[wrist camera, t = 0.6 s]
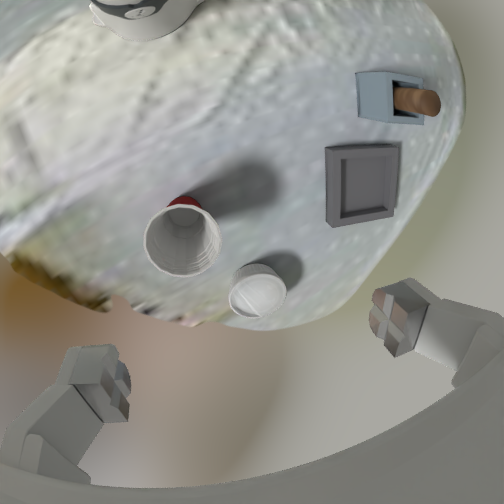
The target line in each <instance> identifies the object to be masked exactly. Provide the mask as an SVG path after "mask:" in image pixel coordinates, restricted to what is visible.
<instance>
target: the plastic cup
mask: <svg viewBox="0 0 504 504" xmlns="http://www.w3.org/2000/svg"><path fill="white" fill-rule="evenodd" d="M221 244H222V236H221V233H220V229H219V226H218V224H217V223H216V221H215V220H214V219H213V218H212V217H211V215H210V214H209V213H208V212H206V211H204V210H203V209H202V208H201V206H200V204H199V203H198V202H197V201H196V200H195V199H193V198H191V197H186V196H182V197H178V198H176V199H174V200H173V201H172V202H171V203H170V204H169V205H168V206H167V207H166V208H163V209H161V210H160V211H159V212H158V213H157V214H155V215H154V216H153V217H152V218H151V219H150V220H149V223H148V225H147V227H146V229H145V231H144V246H143V247H144V249H145V252H146V254H147V257H148V259H149V261H150V262H151V263H152V264H153V265H154V266H155V267H156V268H157V269H158V270H160V271H162V272H164V273H166V274H168V275H171V276H175V277H190V276H194V275H198V274H201V273H202V272H204V271H205V270H207V269H208V268H209V267H211V266H212V265H213V264H214V262H215V261H216V259H217V257H218V256H219V254H220V251H221Z"/></svg>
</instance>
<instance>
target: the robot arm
mask: <svg viewBox="0 0 504 504" xmlns="http://www.w3.org/2000/svg"><path fill="white" fill-rule="evenodd" d="M90 1H91V4H90V5H89V7H90V9H91V11H92V12H93V18H92V21H93V22H94V24H95V25H97V26H101V27H107V28H109V29H110V30H112V31H113V32H114V33H115V34H116V35H118V36H120V37H122V38H124V39H128V40H133V41H146V40H152V39H156V38H159V37H162V36H164V35H166V34H168V33H170V32H172V31H174V30H175V29H177V28H178V27H179V26H181V25H182V24H183V23H184V22H185V21H186V20H187V18H188V17H189V16H190V14H191V13H192V11H193V10H194V8H195V7H196V6H197V5H199V4H200V3H202V2H203V1H205V0H90ZM372 301H373V303H374V304H375V305H374V306H373V308H372V309H371V311H370V315H369V322H370V327H371V329H372V331H373V333H374V334H375V335H376V337H378V338H381V339H384V346H385V347H386V348H387V349H388V351H390V353H391V354H392V355H393V356H394V357H398V356H400V355H402V354H404V353H407V352H409V351H411V350H413V349H414V351H416V352H418V353H420V354H422V355H424V356H426V357H428V358H431V359H433V360H435V361H437V362H439V363H441V364H443V365H445V366H447V367H449V368H451V369H454V370H456V371H457V372H456V374H455V376H454V377H453V379H452V385H453V386H454V387H455V389H454V390H453V391H451V392H450V393H449V394H447V395H446V396H444V397H443V398H441V399H440V400H438V401H437V402H435V403H434V404H432V405H431V406H429V407H428V408H426V409H424V410H423V411H421V412H419V413H418V414H416V415H414V416H413V417H411V418H409V419H407V420H406V421H404V422H402V423H400V424H398V425H397V426H395V427H393V428H391V429H389V430H387V431H385V432H383V433H381V434H379V435H377V436H375V437H373V438H371V439H368V440H366V441H364V442H362V443H360V444H357V445H355V446H353V447H350V448H348V449H345V450H343V451H340V452H338V453H335V454H333V455H330V456H328V457H324V458H322V459H319V460H316V461H313V462H310V463H307V464H303V465H300V466H297V467H294V468H290V469H286V470H283V471H279V472H275V473H272V474H267V475H263V476H258V477H253V478H249V479H243V480H238V481H232V482H226V483H219V484H211V485H203V486H192V487H177V488H123V487H110V486H99V485H91V484H90V481H91V478H90V476H89V475H88V474H87V473H86V472H84V471H83V470H81V469H80V468H79V467H78V466H77V465H78V463H79V461H80V460H81V458H82V457H83V455H84V454H85V452H86V450H87V449H88V448H89V446H90V444H91V443H92V441H93V440H94V438H95V437H96V436H97V434H98V432H99V431H100V429H101V428H102V426H103V425H104V424H103V423H114V422H128V417H129V403H128V401H127V400H126V398H127V397H128V395H129V394H130V393H131V380H130V375H129V372H128V369H127V367H126V365H125V364H124V363H122V362H121V361H119V360H118V358H119V352H118V351H117V349H116V347H115V345H113V344H105V345H91V346H79V347H71V348H69V349H68V350H67V353H66V355H65V358H64V360H63V363H62V366H61V368H60V371H59V374H58V377H57V380H56V382H55V385H50V386H49V387H48V388H47V389H46V390H45V391H44V392H43V393H42V394H41V395H40V396H39V397H38V398H36V399H35V400H34V401H33V402H32V403H31V404H30V405H29V406H28V407H27V408H26V409H25V410H24V411H23V412H22V413H21V414H20V415H19V416H18V417H17V418H16V419H15V420H14V421H13V422H12V423H11V424H10V425H9V426H8V427H7V428H6V431H5V434H4V438H3V441H2V445H1V448H0V504H504V318H503V317H502V316H501V315H500V314H498V313H495V312H492V311H488V310H484V309H481V308H477V307H473V306H470V305H466V304H462V303H459V302H455V301H451V300H448V299H442V300H441V299H440V298H439V297H437V296H436V295H435V294H433V293H432V292H431V291H430V290H428V289H427V288H426V287H424V286H423V285H421V284H420V283H419V282H418V281H416V280H415V279H413V278H407V279H405V280H402V281H399V282H397V283H394V284H391V285H388V286H385V287H382V288H378V289H376V290H375V291H374V293H373V296H372Z"/></svg>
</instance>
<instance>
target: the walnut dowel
mask: <svg viewBox="0 0 504 504" xmlns="http://www.w3.org/2000/svg"><path fill="white" fill-rule="evenodd" d="M392 89H393V109H398V110H404V111H409V112H414V113H419V114H423V115H428V116H432V117H434V116H436V115H438V113H439V112H440V108H441V102H440V98H439V96H438V95H437V93H436V92H434V91H432V90H424V89H414V88H403V87H392Z"/></svg>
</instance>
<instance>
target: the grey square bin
mask: <svg viewBox="0 0 504 504" xmlns="http://www.w3.org/2000/svg"><path fill="white" fill-rule="evenodd" d="M355 74H356V87H357V103H358V117H362V118H367V119H372V120H376V121H381V122H385V123H398V124H415V125H424V115H423V114H419V113H414V112H409V111H404V110H398V109H393V89H392V87H403V88H414V89H424V87H423V78H418V77H413V76H408V75H403V74H397V73H391V72H364V73H355Z"/></svg>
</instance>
